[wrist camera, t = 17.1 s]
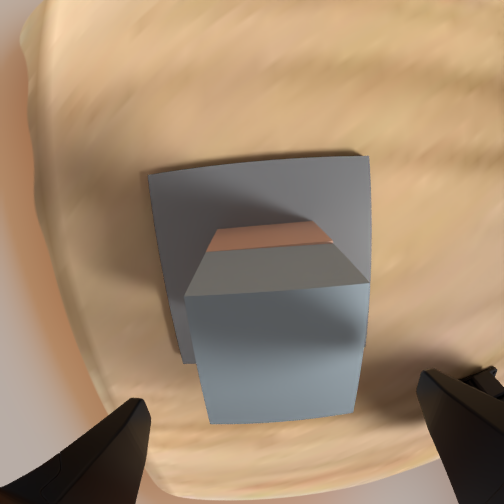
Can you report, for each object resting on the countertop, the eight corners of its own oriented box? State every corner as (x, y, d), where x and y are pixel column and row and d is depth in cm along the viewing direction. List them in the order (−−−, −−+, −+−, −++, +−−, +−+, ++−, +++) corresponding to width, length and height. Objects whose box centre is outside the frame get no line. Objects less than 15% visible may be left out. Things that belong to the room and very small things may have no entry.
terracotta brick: (315, 307, 21) (331, 347, 16) (228, 315, 21) (222, 357, 16) (313, 221, 19) (332, 240, 14) (217, 229, 19) (205, 251, 14)
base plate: (361, 340, 23) (365, 347, 22) (185, 356, 23) (183, 363, 22) (363, 156, 19) (368, 155, 18) (152, 174, 19) (147, 174, 18)
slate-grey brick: (329, 349, 16) (353, 412, 11) (220, 357, 16) (210, 424, 11) (333, 243, 14) (370, 282, 9) (205, 252, 14) (183, 296, 10)
